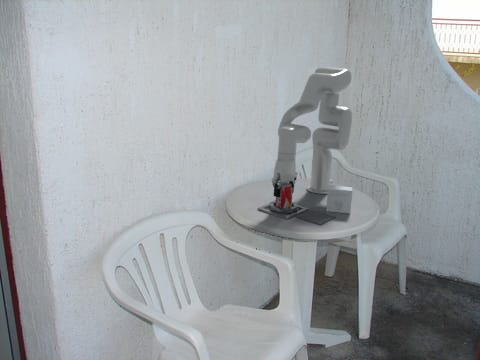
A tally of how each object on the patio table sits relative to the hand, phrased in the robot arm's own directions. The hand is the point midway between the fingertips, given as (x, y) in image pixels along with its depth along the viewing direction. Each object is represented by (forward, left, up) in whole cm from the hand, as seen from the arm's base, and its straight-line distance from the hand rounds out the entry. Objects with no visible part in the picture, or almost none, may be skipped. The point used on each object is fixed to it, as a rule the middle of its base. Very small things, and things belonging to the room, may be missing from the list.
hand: (283, 194), depth 200 cm
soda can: (-1, 0, -8) cm, 8 cm away
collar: (-1, 0, -7) cm, 7 cm away
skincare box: (-19, +17, -8) cm, 26 cm away
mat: (-4, +15, -7) cm, 17 cm away
